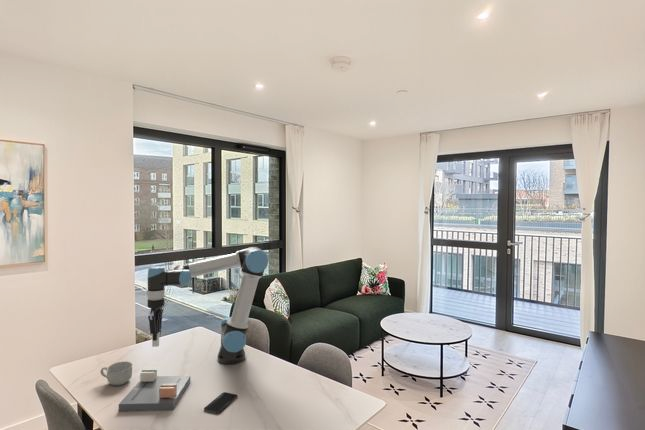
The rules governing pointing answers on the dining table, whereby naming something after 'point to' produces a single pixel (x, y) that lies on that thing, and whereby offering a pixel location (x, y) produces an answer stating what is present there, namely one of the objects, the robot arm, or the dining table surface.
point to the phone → (220, 403)
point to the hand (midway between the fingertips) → (155, 346)
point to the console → (154, 394)
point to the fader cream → (148, 375)
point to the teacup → (118, 373)
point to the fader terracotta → (167, 390)
